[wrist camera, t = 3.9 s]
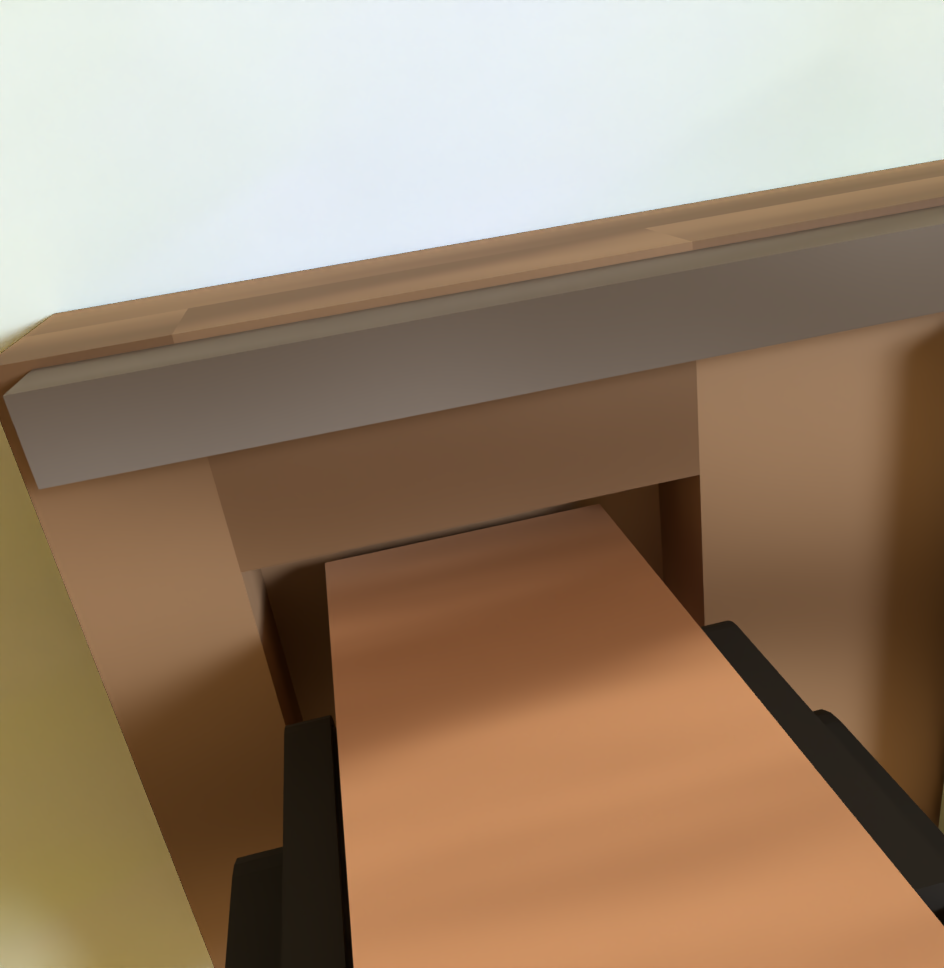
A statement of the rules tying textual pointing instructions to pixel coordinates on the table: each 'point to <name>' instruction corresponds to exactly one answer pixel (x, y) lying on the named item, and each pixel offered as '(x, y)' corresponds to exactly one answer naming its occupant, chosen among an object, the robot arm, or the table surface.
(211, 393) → the puzzle board
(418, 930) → the block
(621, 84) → the table surface
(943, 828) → the lid
